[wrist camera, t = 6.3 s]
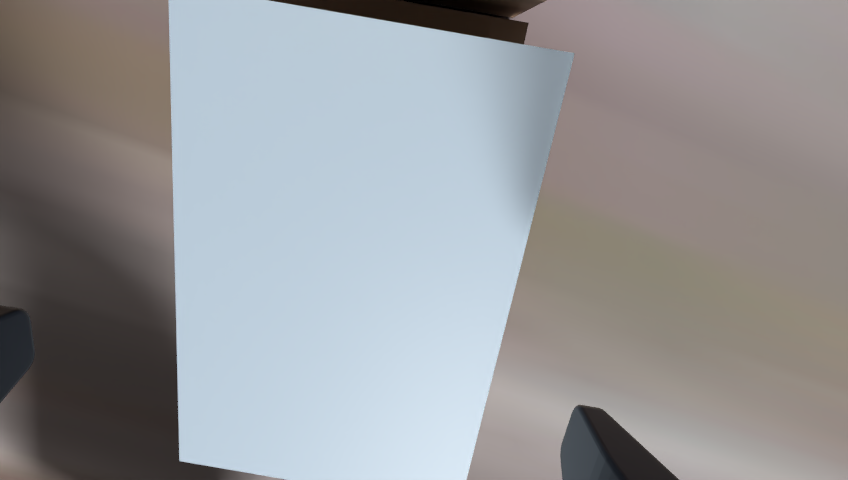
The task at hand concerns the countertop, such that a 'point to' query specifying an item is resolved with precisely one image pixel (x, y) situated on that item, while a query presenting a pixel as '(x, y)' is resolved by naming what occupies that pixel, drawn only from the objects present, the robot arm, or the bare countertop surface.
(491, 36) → the chisel box
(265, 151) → the lid
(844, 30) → the countertop surface
